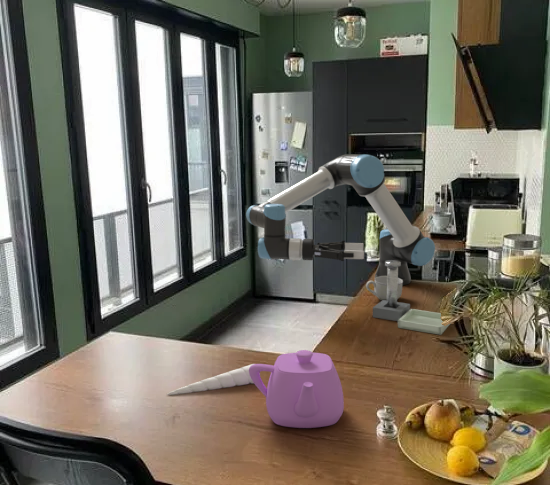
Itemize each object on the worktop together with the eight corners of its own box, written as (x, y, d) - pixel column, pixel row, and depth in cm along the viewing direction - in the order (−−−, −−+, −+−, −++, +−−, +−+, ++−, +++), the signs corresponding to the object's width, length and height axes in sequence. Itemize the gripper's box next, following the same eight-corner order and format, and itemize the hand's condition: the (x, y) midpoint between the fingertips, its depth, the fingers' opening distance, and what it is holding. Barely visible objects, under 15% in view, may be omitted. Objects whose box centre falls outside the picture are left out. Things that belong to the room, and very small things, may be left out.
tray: (410, 315, 190) (411, 308, 189) (451, 322, 182) (452, 314, 182) (397, 327, 178) (397, 320, 177) (440, 334, 171) (441, 327, 170)
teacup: (400, 295, 214) (401, 275, 212) (404, 303, 203) (404, 283, 202) (364, 295, 215) (365, 275, 214) (366, 303, 204) (366, 282, 203)
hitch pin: (386, 312, 194) (388, 259, 190) (401, 314, 191) (402, 261, 187) (381, 316, 189) (383, 262, 186) (396, 318, 187) (397, 264, 183)
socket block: (382, 309, 197) (383, 300, 196) (409, 313, 192) (410, 304, 191) (372, 317, 189) (372, 307, 188) (400, 321, 183) (400, 311, 183)
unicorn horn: (164, 389, 137) (164, 371, 136) (256, 377, 143) (256, 360, 142) (166, 398, 132) (165, 379, 131) (261, 385, 139) (260, 368, 138)
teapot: (251, 398, 131) (250, 339, 128) (339, 397, 131) (339, 338, 128) (245, 451, 109) (244, 381, 106) (351, 451, 108) (352, 380, 106)
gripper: (305, 252, 203) (362, 254, 200) (298, 267, 179) (363, 269, 176) (305, 232, 202) (363, 234, 199) (298, 245, 177) (364, 247, 174)
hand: (363, 250), depth 187 cm, fingers open, 13 cm apart
